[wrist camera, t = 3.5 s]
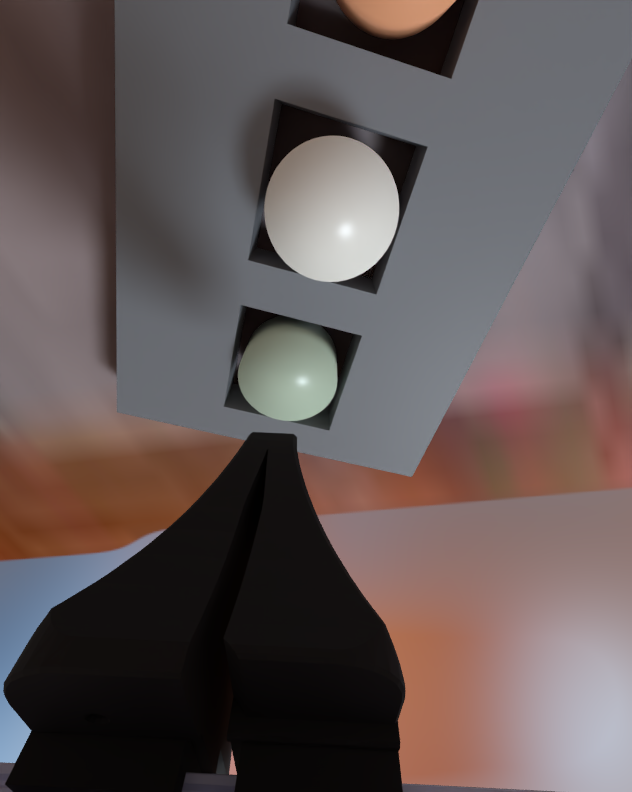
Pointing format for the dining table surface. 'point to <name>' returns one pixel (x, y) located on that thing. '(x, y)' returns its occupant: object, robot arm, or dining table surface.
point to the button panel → (418, 202)
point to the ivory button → (331, 208)
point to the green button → (289, 369)
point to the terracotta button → (393, 16)
